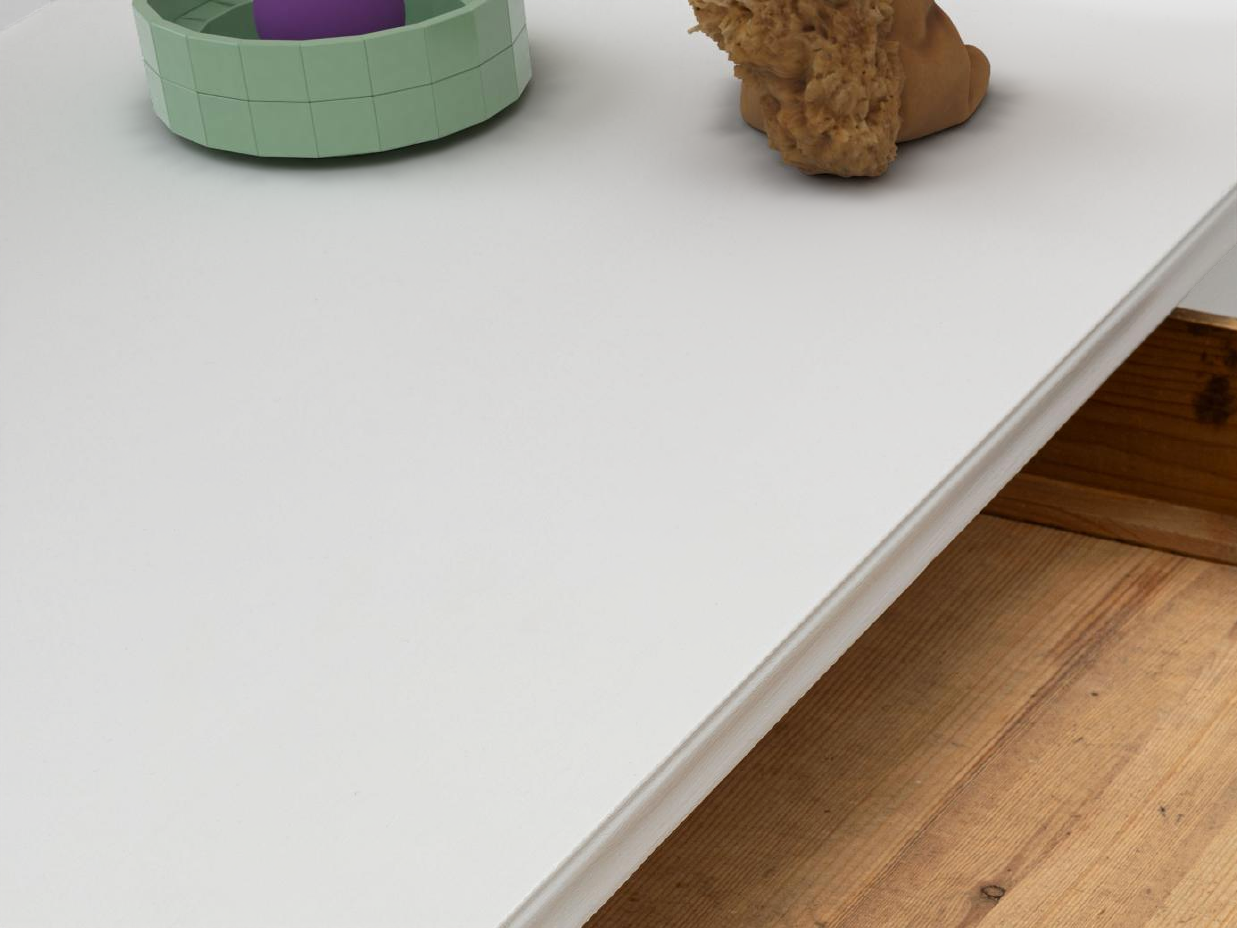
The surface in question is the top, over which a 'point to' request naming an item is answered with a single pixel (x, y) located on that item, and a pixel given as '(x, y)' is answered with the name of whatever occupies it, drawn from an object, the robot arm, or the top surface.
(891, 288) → the top surface
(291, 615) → the top surface
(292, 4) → the ball
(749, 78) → the stuffed squirrel
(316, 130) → the bowl
